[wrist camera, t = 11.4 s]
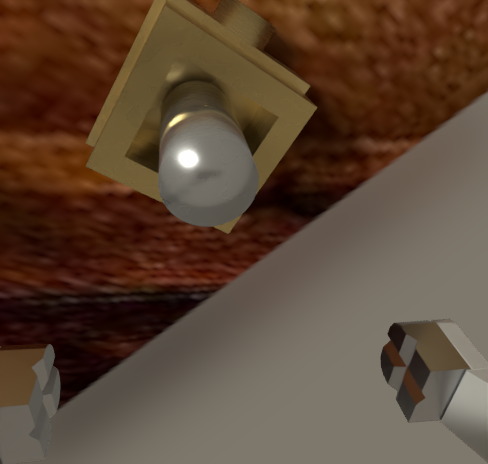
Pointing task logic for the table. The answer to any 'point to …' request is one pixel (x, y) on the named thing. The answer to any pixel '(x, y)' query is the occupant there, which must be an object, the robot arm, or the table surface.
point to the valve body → (198, 69)
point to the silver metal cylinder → (204, 157)
